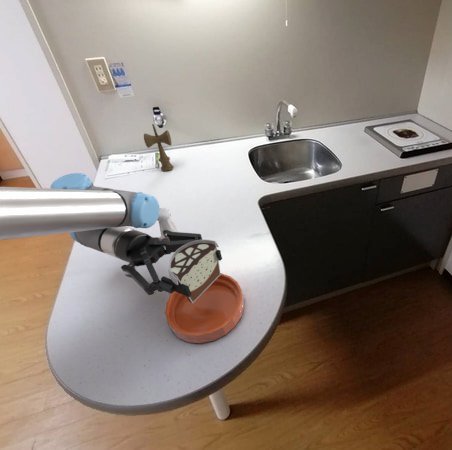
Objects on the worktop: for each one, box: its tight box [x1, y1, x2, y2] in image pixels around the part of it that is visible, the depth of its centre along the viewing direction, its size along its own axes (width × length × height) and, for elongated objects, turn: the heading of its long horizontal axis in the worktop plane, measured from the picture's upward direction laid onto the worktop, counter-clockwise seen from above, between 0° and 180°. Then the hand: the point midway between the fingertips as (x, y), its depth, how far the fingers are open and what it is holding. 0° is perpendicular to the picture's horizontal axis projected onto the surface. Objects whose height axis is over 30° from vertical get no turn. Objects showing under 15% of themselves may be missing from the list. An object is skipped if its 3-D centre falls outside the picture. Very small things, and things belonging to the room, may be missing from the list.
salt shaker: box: [157, 207, 180, 236], centre depth 92 cm, size 6×6×13 cm
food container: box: [168, 239, 222, 304], centre depth 67 cm, size 12×6×10 cm, turn 151°
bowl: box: [164, 272, 245, 344], centre depth 76 cm, size 18×18×4 cm
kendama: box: [143, 123, 174, 172], centre depth 126 cm, size 6×10×20 cm, turn 107°
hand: (205, 272), depth 65 cm, fingers closed on food container, 10 cm apart
